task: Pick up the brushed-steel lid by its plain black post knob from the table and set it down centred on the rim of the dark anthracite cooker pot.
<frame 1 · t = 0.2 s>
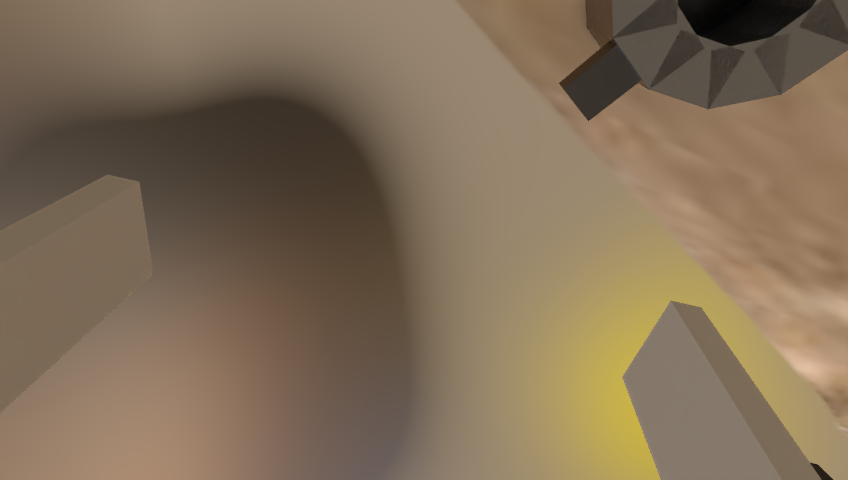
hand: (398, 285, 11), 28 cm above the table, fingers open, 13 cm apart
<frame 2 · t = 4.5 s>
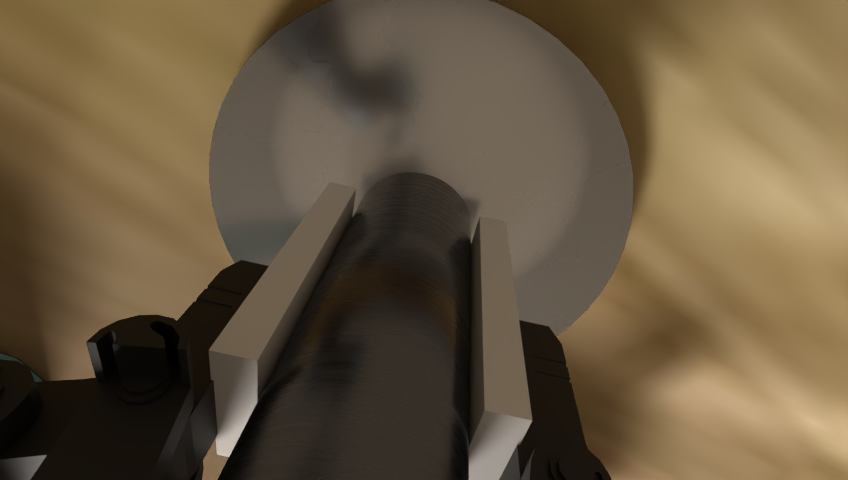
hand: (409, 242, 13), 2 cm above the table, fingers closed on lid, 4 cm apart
lid: (417, 209, 15), on the table, touching gripper
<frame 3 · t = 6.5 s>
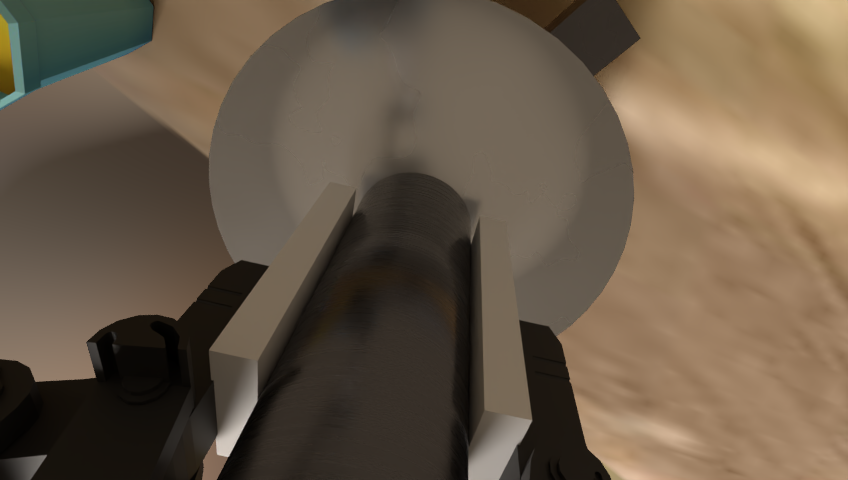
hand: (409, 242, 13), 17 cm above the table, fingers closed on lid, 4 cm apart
lid: (417, 209, 15), point 15 cm above the table, touching gripper
pot: (437, 136, 29), on the table
when the fingers open (10 cm above the table, at t = 8.6 s): lid stays where it is, resting on pot.
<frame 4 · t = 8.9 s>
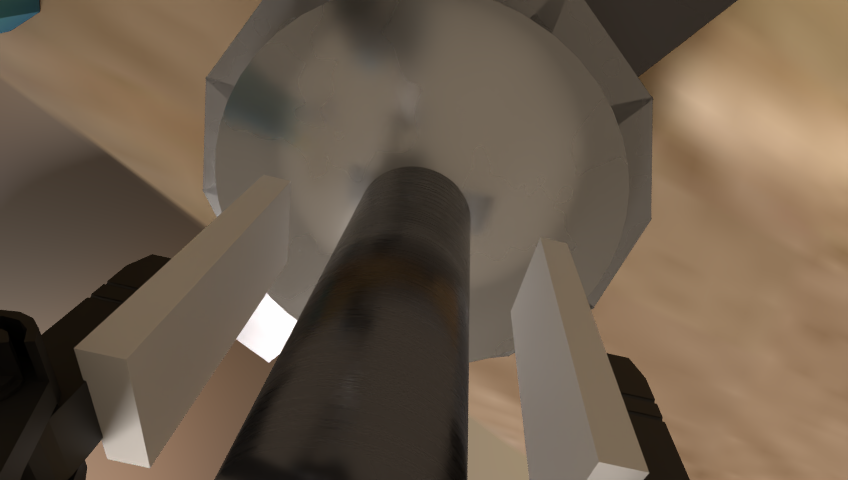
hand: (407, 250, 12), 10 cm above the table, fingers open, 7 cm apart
lid: (418, 203, 15), point 7 cm above the table, touching pot
pot: (434, 141, 21), on the table
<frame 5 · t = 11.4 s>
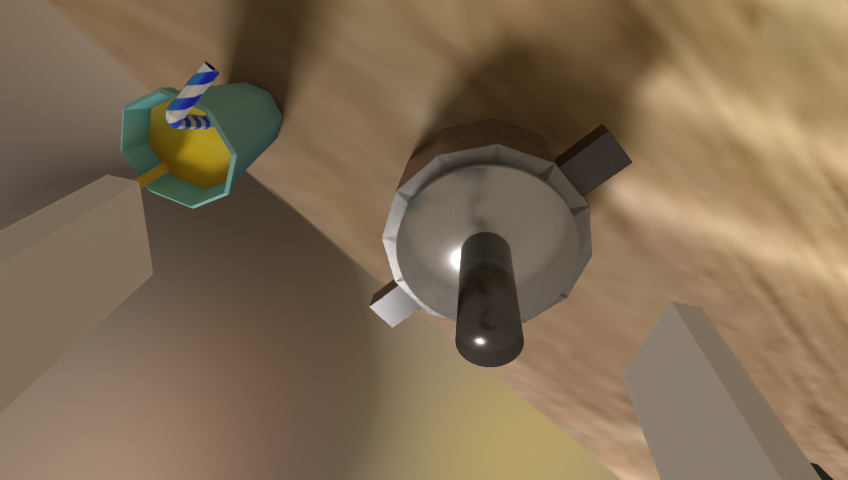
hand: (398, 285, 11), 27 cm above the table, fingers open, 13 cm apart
cup: (258, 106, 37), on the table
lid: (485, 246, 33), point 7 cm above the table, touching pot
pot: (483, 207, 39), on the table
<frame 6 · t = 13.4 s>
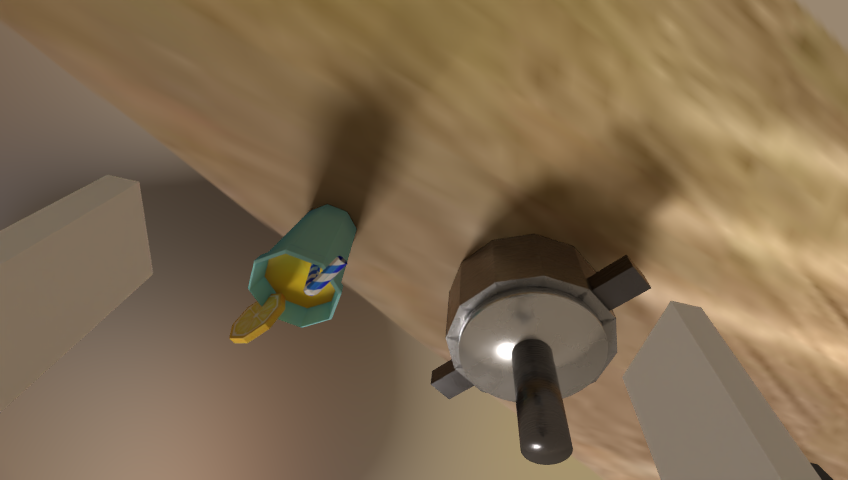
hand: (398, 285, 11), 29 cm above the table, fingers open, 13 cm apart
cup: (336, 221, 44), on the table
lid: (530, 344, 40), point 7 cm above the table, touching pot
pot: (522, 297, 46), on the table
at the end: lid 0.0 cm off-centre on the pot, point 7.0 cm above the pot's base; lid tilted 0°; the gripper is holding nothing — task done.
